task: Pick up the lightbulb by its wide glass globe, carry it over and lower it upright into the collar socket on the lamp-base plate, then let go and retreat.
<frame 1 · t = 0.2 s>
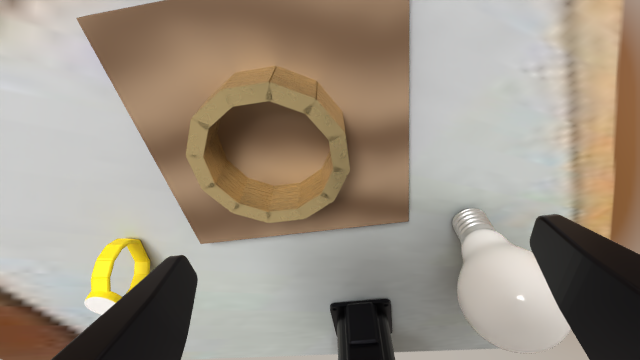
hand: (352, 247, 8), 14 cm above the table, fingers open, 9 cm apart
socket base: (277, 133, 22), on the table
lightbulb: (464, 213, 26), on the table
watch: (139, 248, 30), on the table
socket collar: (272, 150, 20), on the socket base, point 2 cm above the table
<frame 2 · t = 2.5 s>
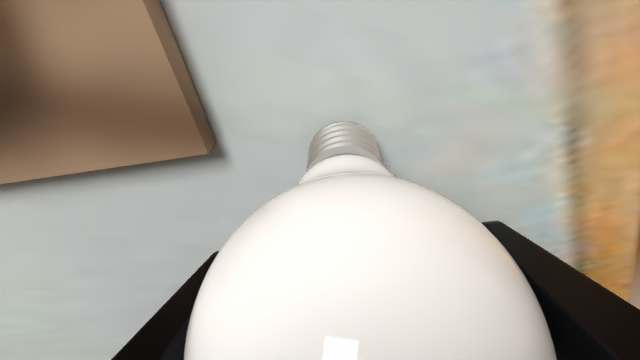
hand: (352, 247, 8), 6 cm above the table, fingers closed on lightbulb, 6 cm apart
lightbulb: (341, 143, 13), on the table, touching gripper
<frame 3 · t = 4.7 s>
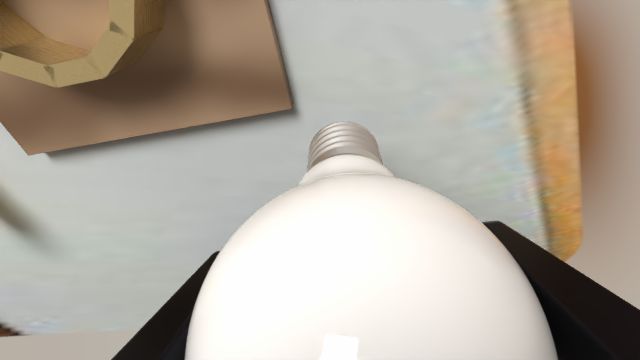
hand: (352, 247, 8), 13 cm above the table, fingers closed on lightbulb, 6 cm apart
lightbulb: (342, 143, 13), point 7 cm above the table, touching gripper
when the fingers open (8 cm above the table, at t = 7.4 s): lightbulb drops 1 cm, resting on socket base.
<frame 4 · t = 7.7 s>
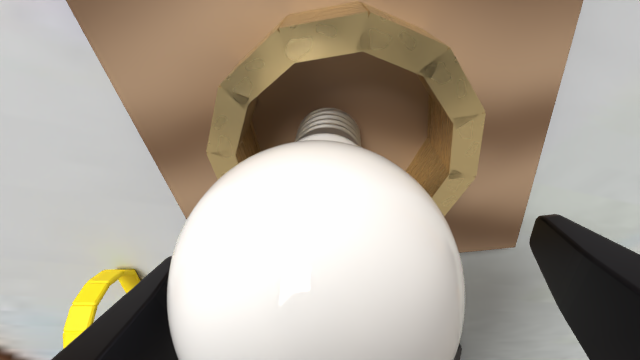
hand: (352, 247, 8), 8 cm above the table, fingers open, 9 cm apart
socket base: (339, 119, 15), on the table
lightbulb: (329, 128, 14), point 1 cm above the table, touching socket base
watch: (134, 280, 22), on the table
socket collar: (341, 145, 13), on the socket base, point 2 cm above the table
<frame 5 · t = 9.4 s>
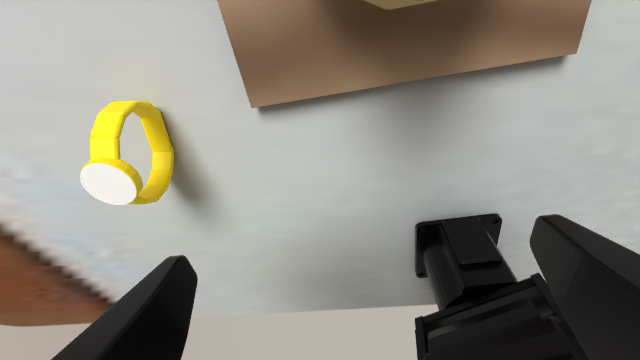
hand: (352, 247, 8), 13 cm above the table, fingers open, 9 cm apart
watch: (159, 131, 21), on the table
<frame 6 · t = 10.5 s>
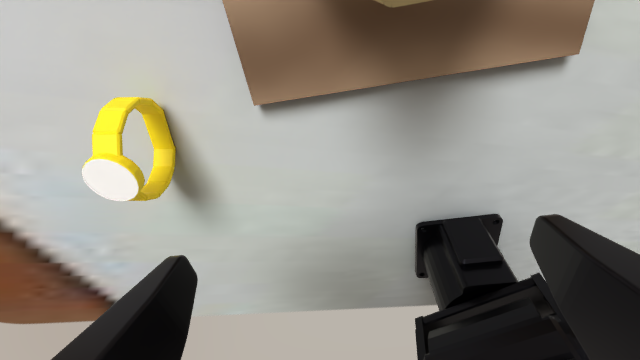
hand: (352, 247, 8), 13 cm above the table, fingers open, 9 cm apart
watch: (161, 128, 21), on the table
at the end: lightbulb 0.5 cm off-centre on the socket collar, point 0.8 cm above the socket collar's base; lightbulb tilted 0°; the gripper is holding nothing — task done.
